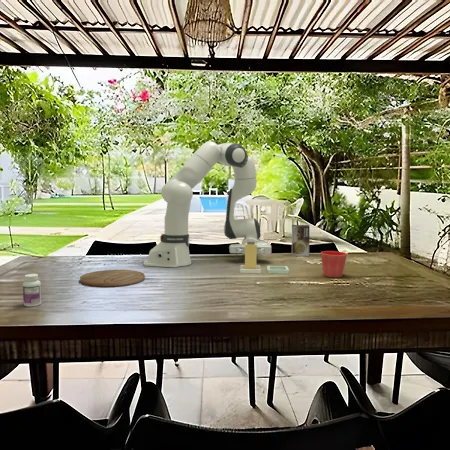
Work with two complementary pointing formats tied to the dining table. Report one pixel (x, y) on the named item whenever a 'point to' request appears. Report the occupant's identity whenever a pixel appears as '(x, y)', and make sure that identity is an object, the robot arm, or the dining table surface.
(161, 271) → the dining table surface
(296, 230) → the coffee box
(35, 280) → the pill bottle
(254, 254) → the tan tall block
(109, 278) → the trivet
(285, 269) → the socket
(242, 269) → the socket
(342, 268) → the flower pot
